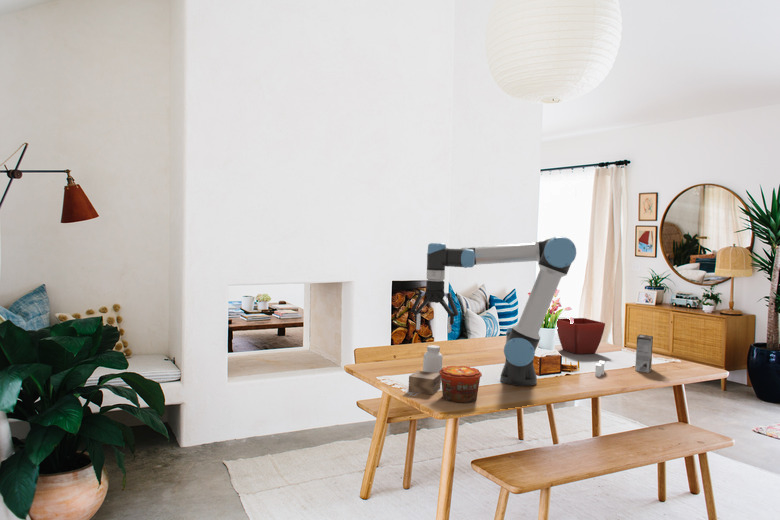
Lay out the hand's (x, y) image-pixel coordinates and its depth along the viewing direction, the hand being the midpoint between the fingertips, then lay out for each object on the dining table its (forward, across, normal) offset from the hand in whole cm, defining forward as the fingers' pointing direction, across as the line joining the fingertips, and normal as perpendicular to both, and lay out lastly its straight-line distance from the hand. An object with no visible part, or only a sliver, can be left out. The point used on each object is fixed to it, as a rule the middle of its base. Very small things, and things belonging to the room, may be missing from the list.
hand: (433, 330), depth 233 cm
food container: (+22, +17, -17) cm, 32 cm away
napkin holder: (+22, +64, +50) cm, 84 cm away
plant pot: (+22, +53, +97) cm, 113 cm away
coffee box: (+22, +84, +68) cm, 110 cm away
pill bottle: (+22, 0, 0) cm, 22 cm away
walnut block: (+22, +1, -13) cm, 25 cm away
